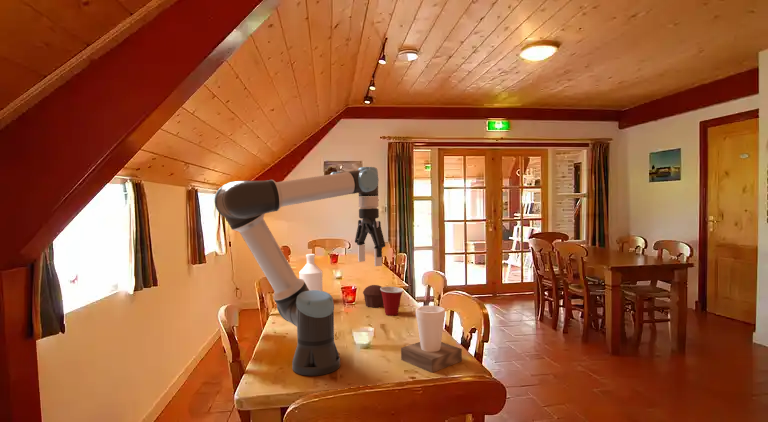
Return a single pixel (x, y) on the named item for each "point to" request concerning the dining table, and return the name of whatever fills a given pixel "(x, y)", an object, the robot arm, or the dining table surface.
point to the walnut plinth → (431, 356)
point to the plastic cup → (391, 299)
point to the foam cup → (430, 327)
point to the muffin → (373, 296)
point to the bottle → (311, 274)
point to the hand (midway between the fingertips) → (369, 263)
